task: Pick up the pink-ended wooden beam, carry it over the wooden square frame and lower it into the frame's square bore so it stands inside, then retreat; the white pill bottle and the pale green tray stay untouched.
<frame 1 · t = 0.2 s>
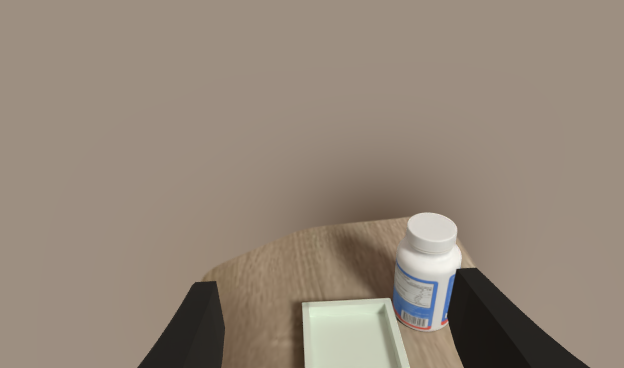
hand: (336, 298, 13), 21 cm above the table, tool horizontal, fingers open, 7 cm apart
pill bottle: (420, 312, 40), on the table
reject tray: (353, 360, 36), on the table
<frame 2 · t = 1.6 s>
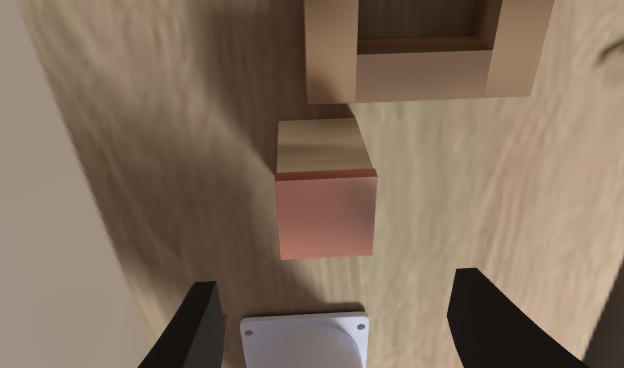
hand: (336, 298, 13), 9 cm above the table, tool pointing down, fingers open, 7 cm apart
pink-ended wooden beam: (317, 153, 21), on the table
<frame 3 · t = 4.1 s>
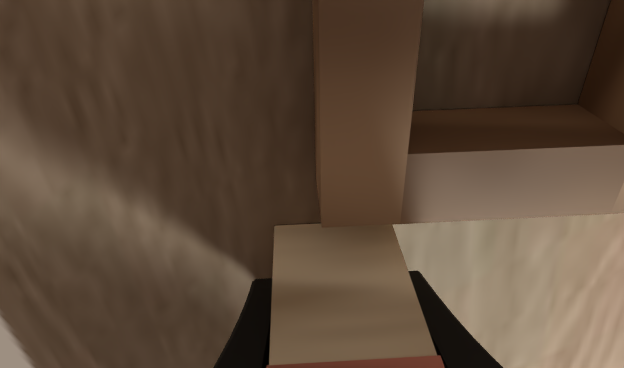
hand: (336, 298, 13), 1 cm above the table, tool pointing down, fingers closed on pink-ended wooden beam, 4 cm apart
wooden square frame: (503, 4, 10), on the table
pink-ended wooden beam: (332, 266, 14), on the table, touching gripper
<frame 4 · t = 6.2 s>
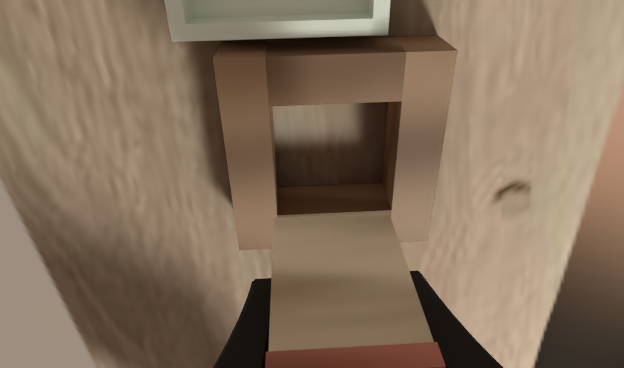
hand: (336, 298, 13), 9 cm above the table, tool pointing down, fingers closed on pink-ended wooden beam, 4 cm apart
wooden square frame: (330, 137, 20), on the table
pink-ended wooden beam: (331, 258, 14), point 7 cm above the table, touching gripper
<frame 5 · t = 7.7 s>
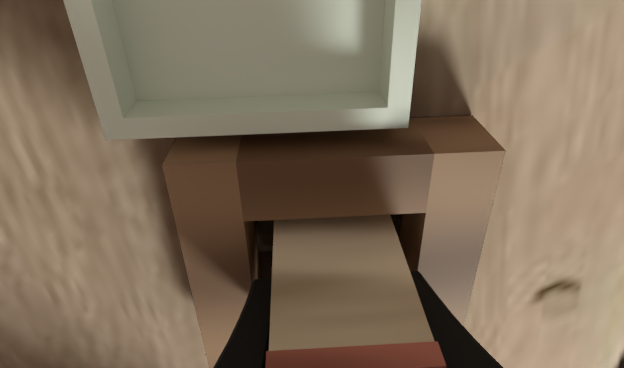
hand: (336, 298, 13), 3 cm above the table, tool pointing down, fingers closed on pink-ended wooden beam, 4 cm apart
wooden square frame: (328, 236, 16), on the table
pink-ended wooden beam: (331, 258, 14), point 1 cm above the table, touching gripper
when the fingers open (3 cm above the table, at t = 8.7 s): pink-ended wooden beam stays where it is, resting in wooden square frame.
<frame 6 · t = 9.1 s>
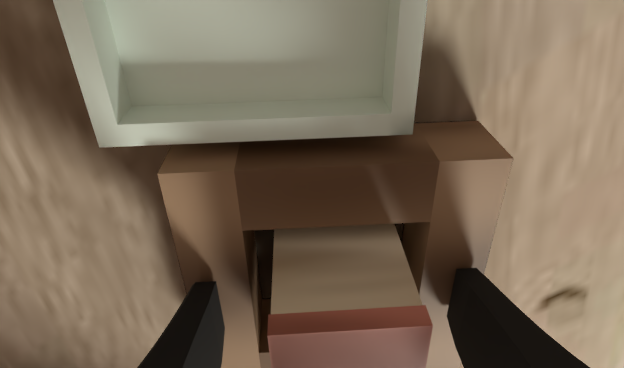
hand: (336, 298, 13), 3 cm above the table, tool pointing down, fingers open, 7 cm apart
wooden square frame: (329, 243, 15), on the table
pink-ended wooden beam: (330, 239, 15), resting in wooden square frame
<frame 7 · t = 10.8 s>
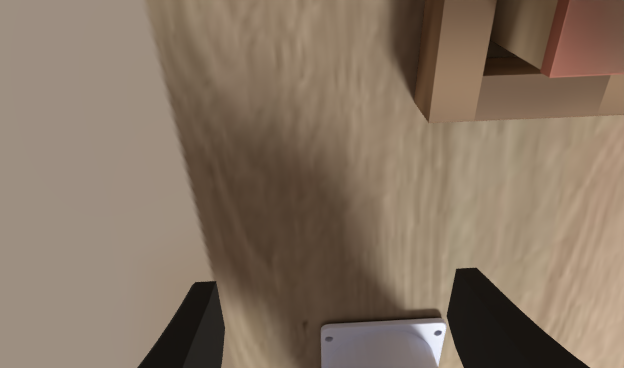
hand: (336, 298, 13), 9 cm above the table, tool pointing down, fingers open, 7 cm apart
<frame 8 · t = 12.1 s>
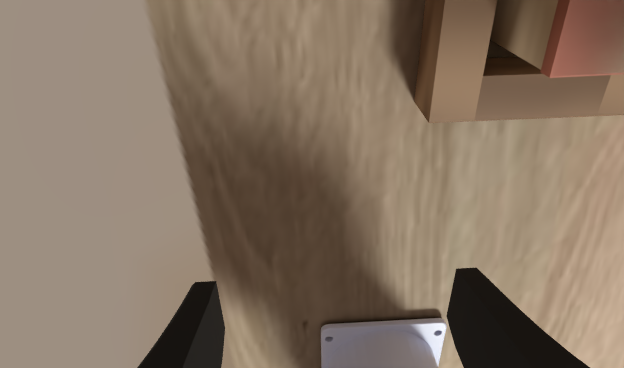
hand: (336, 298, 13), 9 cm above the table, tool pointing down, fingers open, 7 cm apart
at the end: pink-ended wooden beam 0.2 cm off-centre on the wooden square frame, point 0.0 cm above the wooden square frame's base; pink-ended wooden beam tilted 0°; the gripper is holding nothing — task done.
